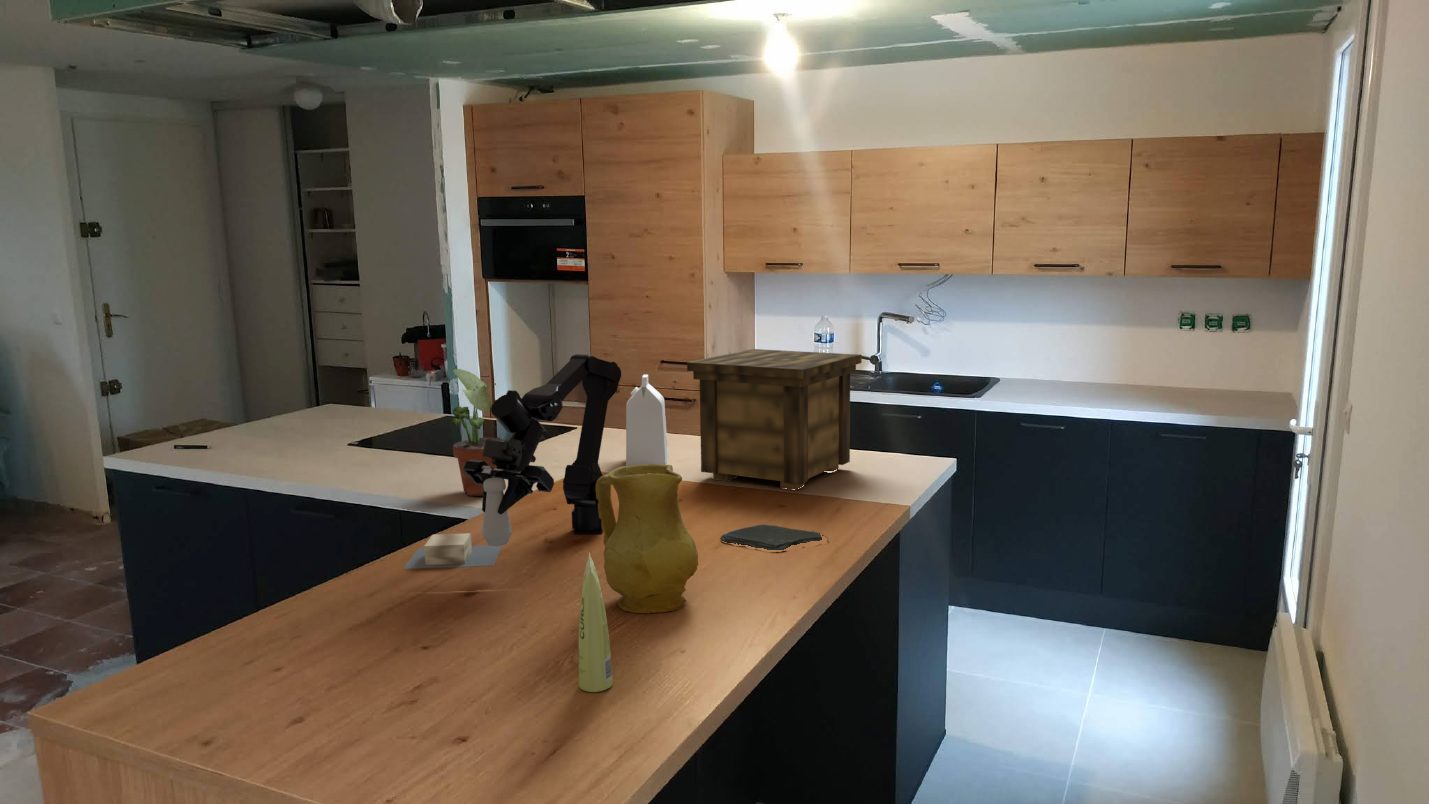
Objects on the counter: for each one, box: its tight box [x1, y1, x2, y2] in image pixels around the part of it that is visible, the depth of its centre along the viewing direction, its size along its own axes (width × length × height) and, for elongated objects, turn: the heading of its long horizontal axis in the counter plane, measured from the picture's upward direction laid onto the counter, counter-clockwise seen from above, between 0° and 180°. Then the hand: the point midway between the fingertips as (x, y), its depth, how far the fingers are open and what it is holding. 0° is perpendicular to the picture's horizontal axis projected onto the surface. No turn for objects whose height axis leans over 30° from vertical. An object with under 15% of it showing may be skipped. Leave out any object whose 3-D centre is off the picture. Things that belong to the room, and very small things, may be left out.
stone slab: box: [719, 524, 825, 550], centre depth 217 cm, size 24×17×2 cm
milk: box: [625, 374, 669, 466], centre depth 294 cm, size 12×12×26 cm
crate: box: [686, 348, 863, 491], centre depth 275 cm, size 35×35×33 cm
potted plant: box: [451, 368, 509, 497], centre depth 260 cm, size 16×15×35 cm
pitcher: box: [596, 464, 699, 614], centre depth 181 cm, size 17×19×25 cm
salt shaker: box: [481, 478, 513, 546], centre depth 196 cm, size 6×6×13 cm
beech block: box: [423, 532, 473, 565], centre depth 208 cm, size 8×8×4 cm
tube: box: [578, 552, 613, 693], centre depth 147 cm, size 6×5×20 cm
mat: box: [403, 544, 504, 570], centre depth 210 cm, size 18×14×1 cm
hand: (491, 512), depth 195 cm, fingers closed on salt shaker, 3 cm apart
